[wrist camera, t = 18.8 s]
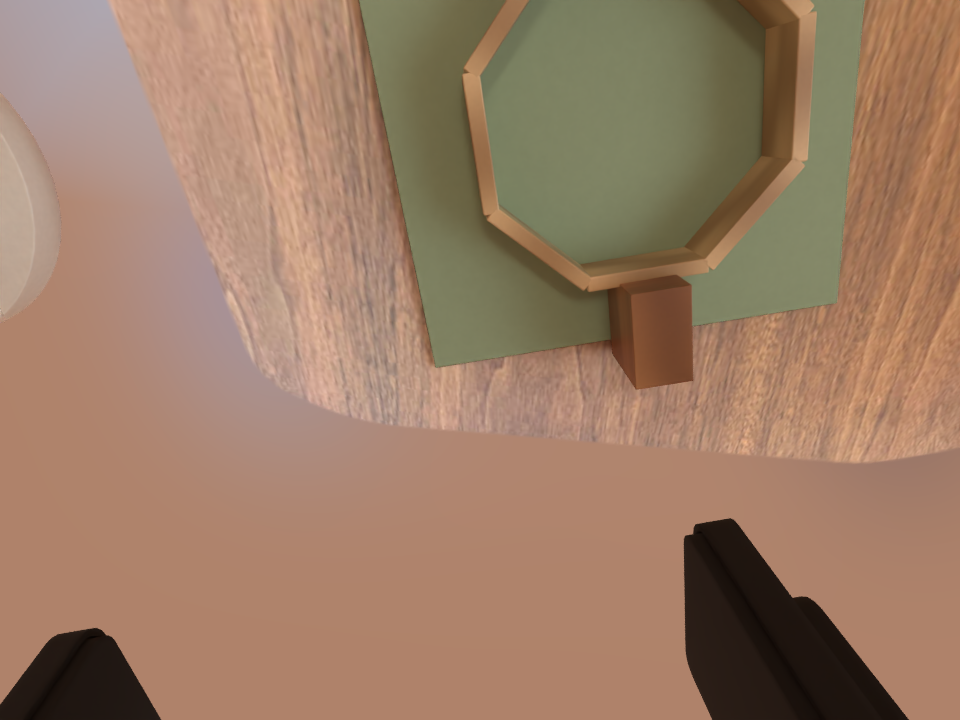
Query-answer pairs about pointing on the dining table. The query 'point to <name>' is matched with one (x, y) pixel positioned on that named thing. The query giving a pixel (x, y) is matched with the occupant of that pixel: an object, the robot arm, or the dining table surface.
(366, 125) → the dining table surface
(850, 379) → the dining table surface
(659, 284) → the hoop
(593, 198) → the mat
